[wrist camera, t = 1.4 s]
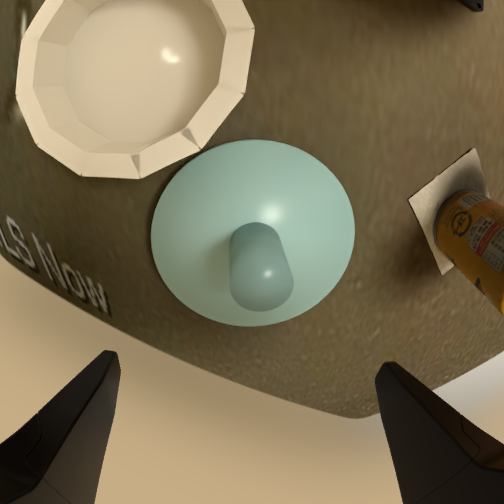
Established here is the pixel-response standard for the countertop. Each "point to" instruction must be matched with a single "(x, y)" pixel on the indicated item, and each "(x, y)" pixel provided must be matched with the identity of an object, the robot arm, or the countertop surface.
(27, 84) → the bowl
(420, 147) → the countertop surface
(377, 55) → the countertop surface
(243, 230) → the lid
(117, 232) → the countertop surface
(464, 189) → the condiment
